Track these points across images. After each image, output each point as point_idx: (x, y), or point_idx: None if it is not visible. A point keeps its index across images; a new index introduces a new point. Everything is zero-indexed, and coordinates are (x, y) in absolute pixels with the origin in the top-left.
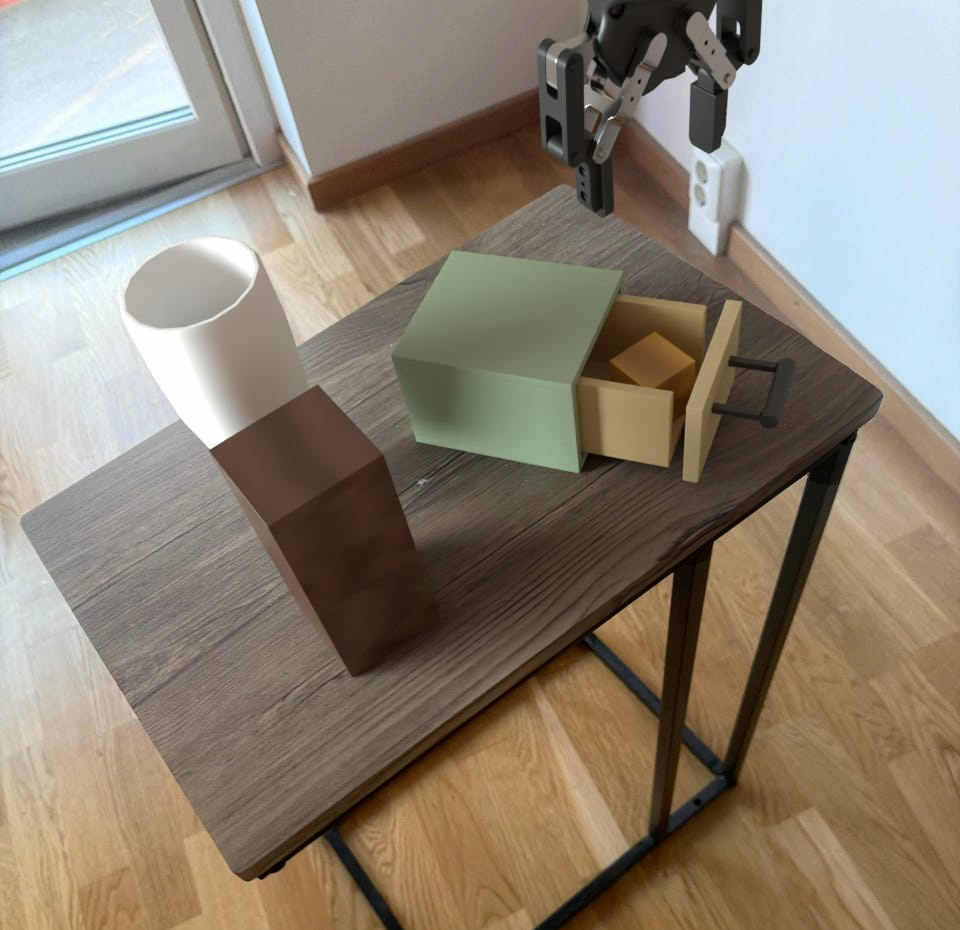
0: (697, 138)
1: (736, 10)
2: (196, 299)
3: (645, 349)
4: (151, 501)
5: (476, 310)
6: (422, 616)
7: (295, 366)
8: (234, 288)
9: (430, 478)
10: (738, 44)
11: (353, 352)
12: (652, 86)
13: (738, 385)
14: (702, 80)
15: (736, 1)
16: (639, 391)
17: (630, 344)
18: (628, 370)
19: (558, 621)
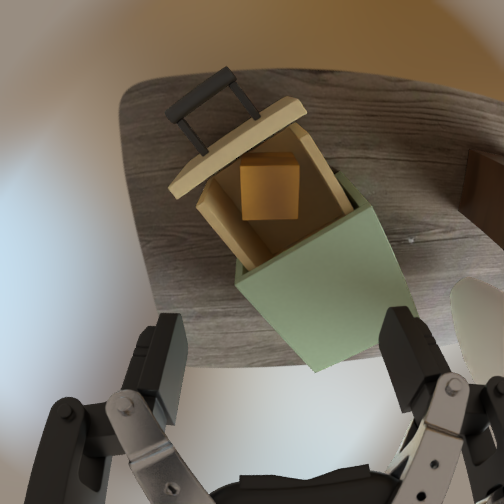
0: (183, 345)
1: (78, 499)
2: None
3: (264, 208)
4: None
5: (353, 321)
6: (484, 153)
7: (496, 332)
8: None
9: (406, 239)
10: (84, 441)
11: None
12: (342, 476)
13: (184, 159)
14: (161, 423)
15: None
16: (322, 161)
17: (248, 233)
18: (294, 198)
19: (429, 88)
